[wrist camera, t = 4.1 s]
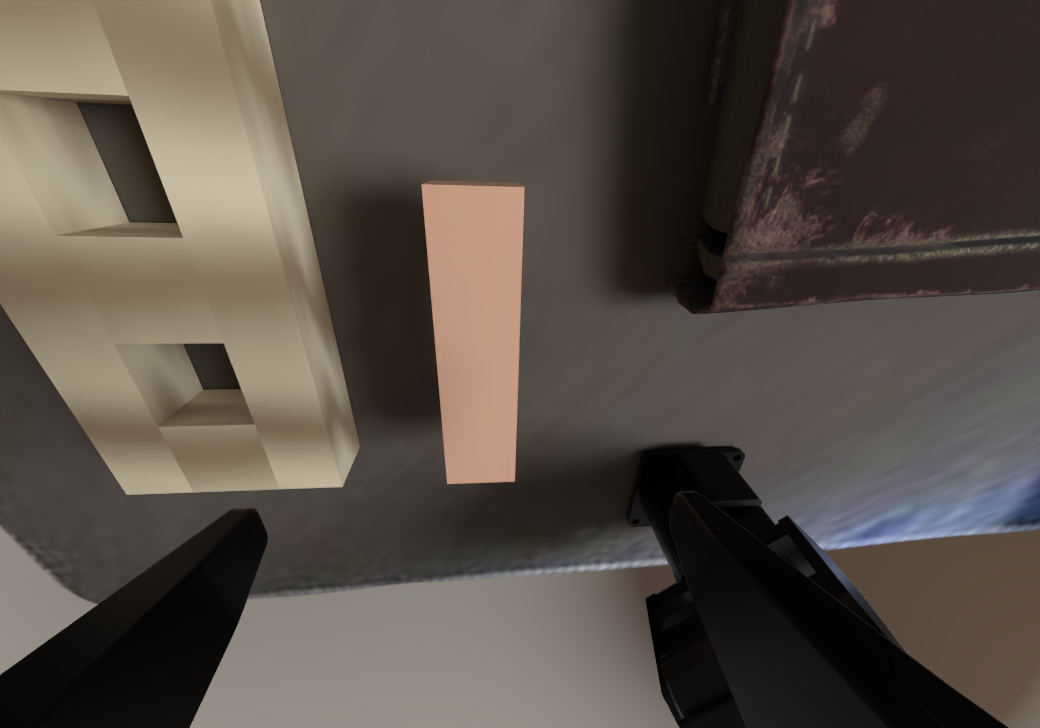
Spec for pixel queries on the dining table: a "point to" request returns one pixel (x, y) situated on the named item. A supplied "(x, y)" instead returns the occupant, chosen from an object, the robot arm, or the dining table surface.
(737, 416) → the dining table surface
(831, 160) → the diary
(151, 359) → the cream two-hole slab
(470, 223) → the pink rectangular block
